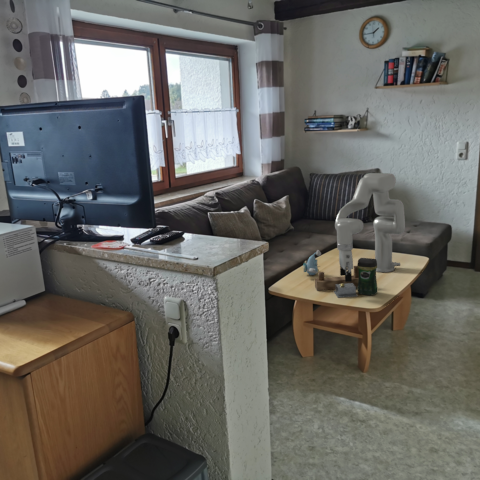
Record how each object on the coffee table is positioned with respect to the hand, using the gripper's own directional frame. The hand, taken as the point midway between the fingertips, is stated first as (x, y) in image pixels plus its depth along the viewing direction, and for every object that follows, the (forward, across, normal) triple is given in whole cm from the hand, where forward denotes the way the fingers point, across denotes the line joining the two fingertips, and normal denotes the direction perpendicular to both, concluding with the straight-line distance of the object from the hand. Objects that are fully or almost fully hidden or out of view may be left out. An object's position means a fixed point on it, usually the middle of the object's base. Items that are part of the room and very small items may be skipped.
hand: (345, 278), depth 250 cm
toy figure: (+9, +35, +11) cm, 38 cm away
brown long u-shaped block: (+9, +10, +1) cm, 13 cm away
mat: (+8, -1, +1) cm, 8 cm away
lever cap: (+8, -1, +1) cm, 8 cm away
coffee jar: (+9, -2, -10) cm, 14 cm away
